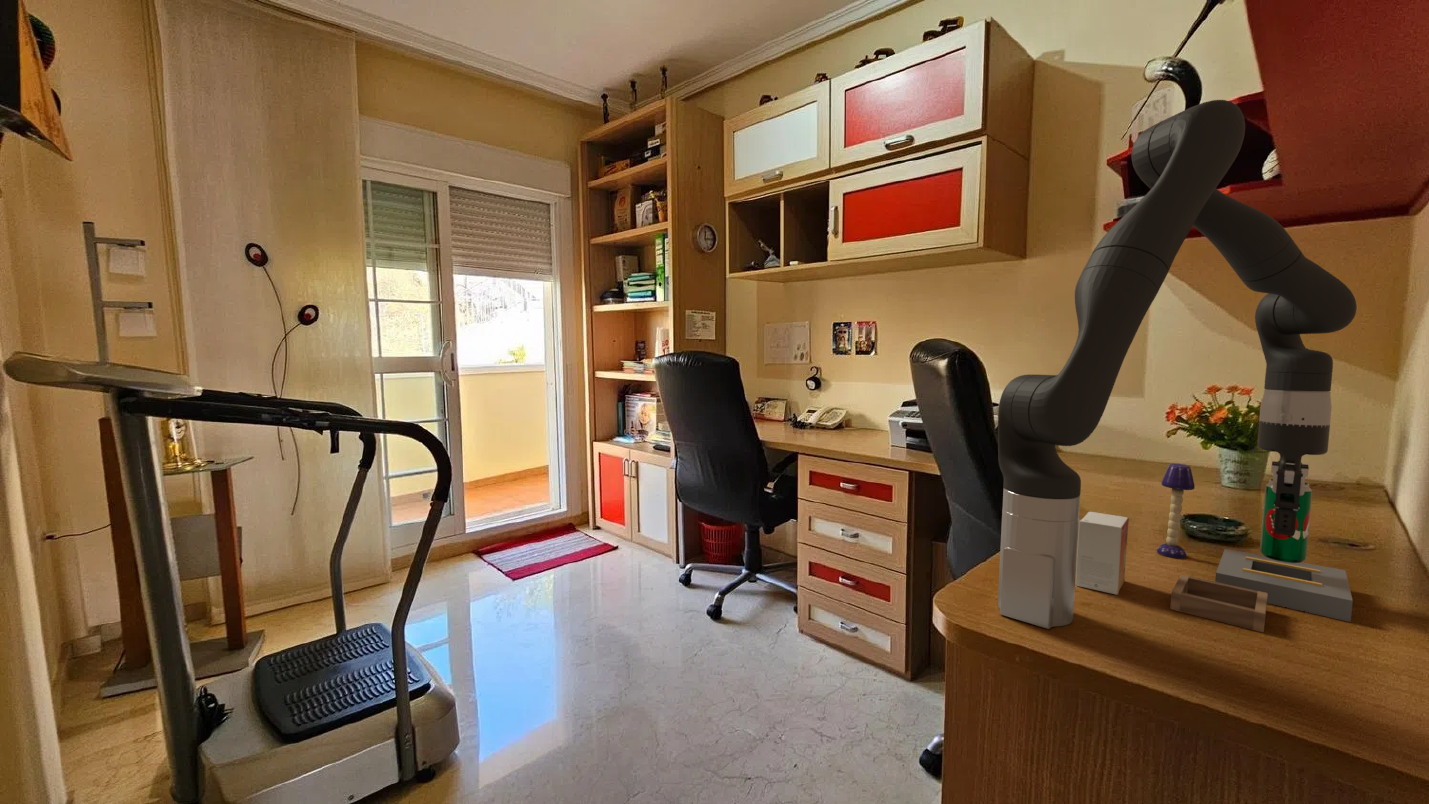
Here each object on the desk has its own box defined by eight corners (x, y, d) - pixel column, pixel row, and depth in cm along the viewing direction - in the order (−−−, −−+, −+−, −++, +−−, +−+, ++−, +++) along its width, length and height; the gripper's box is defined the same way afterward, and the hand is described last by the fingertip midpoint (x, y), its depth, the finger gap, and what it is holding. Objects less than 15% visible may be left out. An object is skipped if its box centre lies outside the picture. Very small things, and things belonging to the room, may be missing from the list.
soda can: (1285, 553, 90) (1292, 478, 89) (1315, 564, 85) (1323, 485, 84) (1250, 552, 91) (1256, 477, 90) (1278, 563, 86) (1285, 484, 85)
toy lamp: (1195, 558, 102) (1202, 466, 101) (1177, 561, 101) (1184, 467, 99) (1166, 549, 107) (1173, 461, 105) (1149, 552, 105) (1155, 462, 104)
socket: (1350, 622, 78) (1352, 598, 77) (1214, 591, 88) (1216, 570, 87) (1343, 589, 89) (1345, 568, 89) (1223, 565, 99) (1225, 546, 99)
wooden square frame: (1263, 632, 75) (1265, 614, 74) (1170, 609, 81) (1171, 592, 81) (1266, 610, 81) (1267, 592, 81) (1179, 590, 88) (1180, 574, 88)
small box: (1117, 596, 86) (1122, 527, 85) (1074, 586, 89) (1078, 520, 89) (1125, 581, 92) (1129, 516, 91) (1084, 572, 95) (1088, 510, 95)
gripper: (1332, 426, 78) (1321, 547, 80) (1328, 419, 89) (1318, 526, 90) (1257, 421, 84) (1248, 535, 85) (1261, 415, 94) (1253, 516, 95)
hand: (1284, 530), depth 88 cm, fingers closed on soda can, 5 cm apart
